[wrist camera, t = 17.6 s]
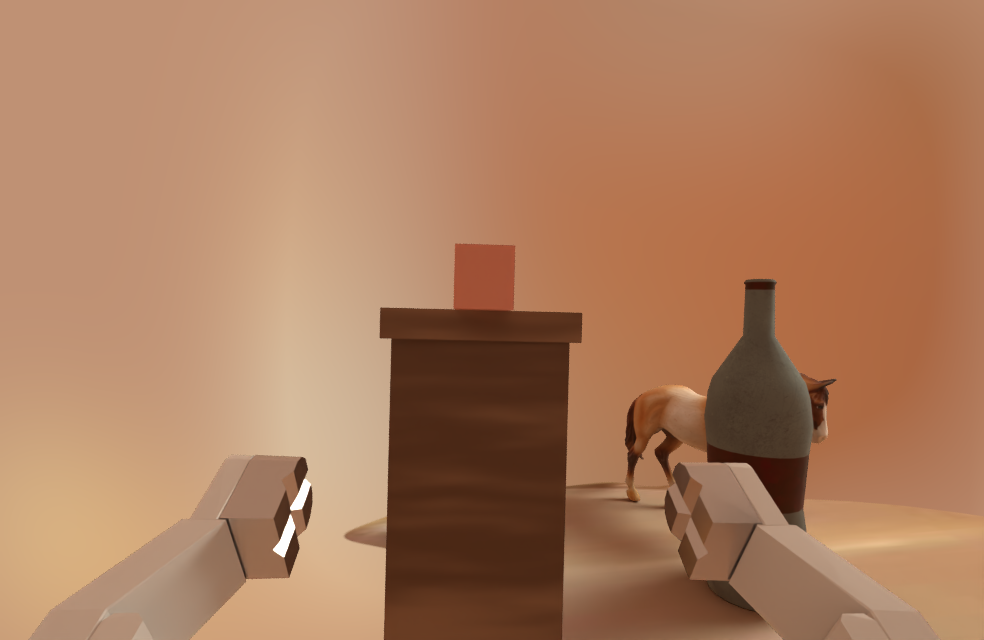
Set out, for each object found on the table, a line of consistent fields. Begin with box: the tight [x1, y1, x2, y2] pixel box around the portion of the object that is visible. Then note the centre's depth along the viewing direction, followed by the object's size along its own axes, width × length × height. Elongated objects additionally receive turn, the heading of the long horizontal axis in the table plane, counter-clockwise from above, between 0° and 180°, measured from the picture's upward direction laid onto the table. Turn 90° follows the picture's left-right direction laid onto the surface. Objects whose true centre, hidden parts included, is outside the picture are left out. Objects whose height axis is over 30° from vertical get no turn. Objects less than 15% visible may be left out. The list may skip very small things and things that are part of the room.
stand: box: [380, 308, 582, 640], centre depth 31 cm, size 14×10×26 cm
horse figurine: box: [625, 373, 836, 501], centre depth 64 cm, size 31×8×21 cm, turn 25°
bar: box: [454, 244, 515, 311], centre depth 32 cm, size 22×3×3 cm, turn 3°
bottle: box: [704, 279, 814, 611], centre depth 48 cm, size 9×9×30 cm
